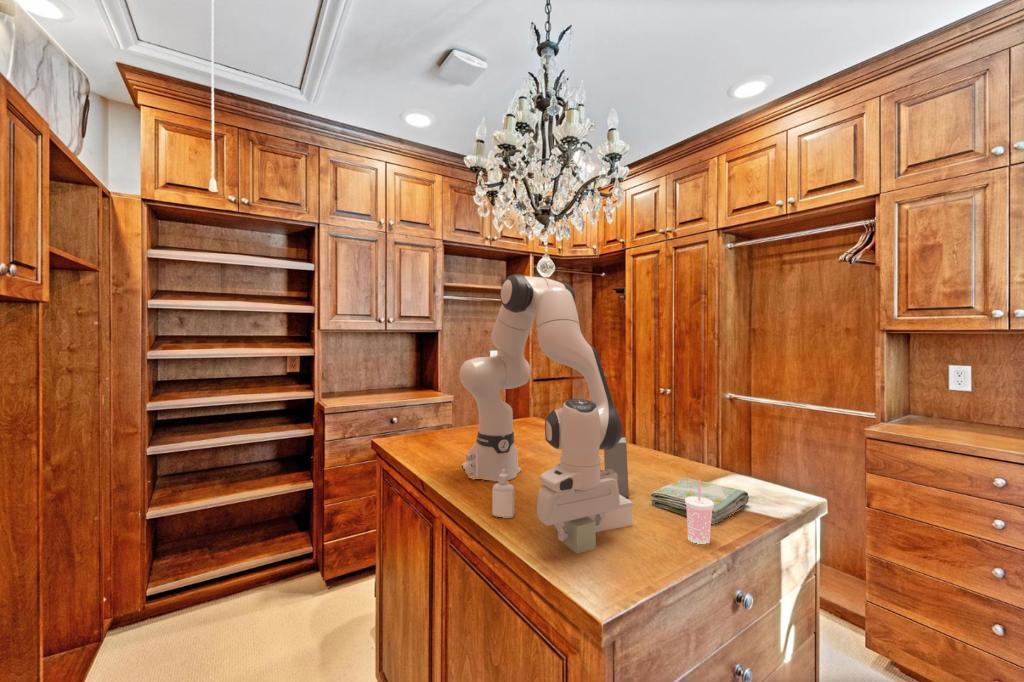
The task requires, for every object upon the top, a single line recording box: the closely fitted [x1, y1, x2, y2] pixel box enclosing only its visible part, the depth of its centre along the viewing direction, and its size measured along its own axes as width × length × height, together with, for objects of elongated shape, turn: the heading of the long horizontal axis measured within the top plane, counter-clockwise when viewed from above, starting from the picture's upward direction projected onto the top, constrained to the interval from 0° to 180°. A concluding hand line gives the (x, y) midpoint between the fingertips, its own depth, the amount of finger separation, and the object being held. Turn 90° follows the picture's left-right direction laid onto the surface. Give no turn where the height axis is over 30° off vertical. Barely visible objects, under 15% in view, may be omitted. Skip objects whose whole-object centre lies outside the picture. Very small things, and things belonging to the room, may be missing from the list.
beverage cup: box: [685, 478, 714, 545], centre depth 102 cm, size 6×6×14 cm
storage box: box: [588, 494, 634, 532], centre depth 114 cm, size 13×13×6 cm
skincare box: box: [603, 436, 630, 499], centre depth 132 cm, size 8×7×16 cm
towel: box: [649, 477, 750, 525], centre depth 123 cm, size 18×21×5 cm
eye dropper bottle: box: [491, 469, 516, 519], centre depth 115 cm, size 4×6×12 cm
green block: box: [563, 517, 597, 554], centre depth 99 cm, size 5×5×6 cm
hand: (579, 535), depth 99 cm, fingers open, 7 cm apart
